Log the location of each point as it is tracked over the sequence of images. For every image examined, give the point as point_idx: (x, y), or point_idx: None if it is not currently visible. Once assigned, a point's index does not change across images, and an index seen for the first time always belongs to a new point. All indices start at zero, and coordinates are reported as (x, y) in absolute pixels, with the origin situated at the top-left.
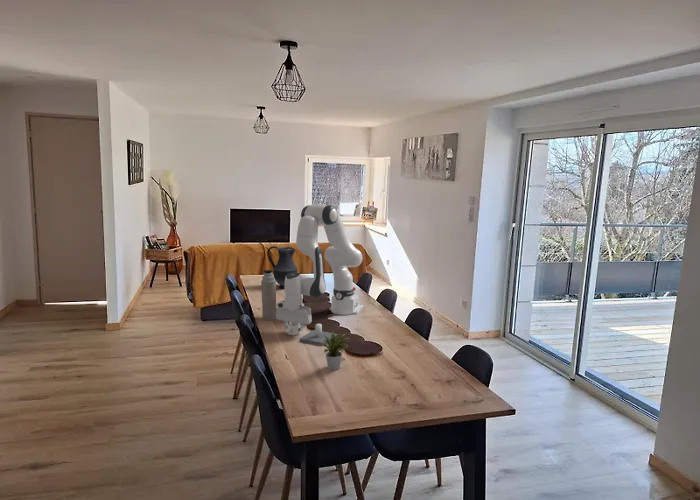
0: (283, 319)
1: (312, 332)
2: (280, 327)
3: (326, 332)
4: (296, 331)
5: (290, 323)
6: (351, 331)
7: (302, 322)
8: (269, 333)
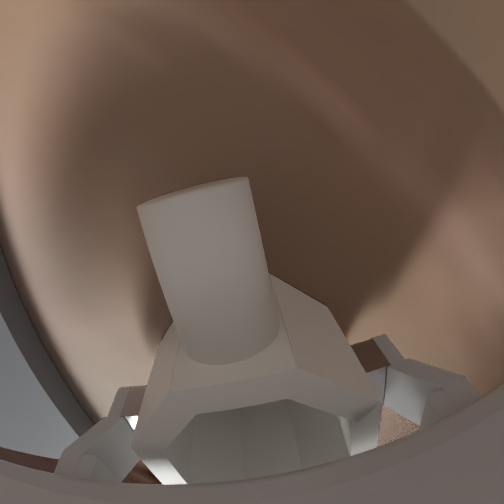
0: (500, 408)
1: (44, 417)
2: (474, 345)
3: (8, 444)
4: (161, 357)
5: (347, 437)
6: None
7: (7, 481)
8: (482, 144)
